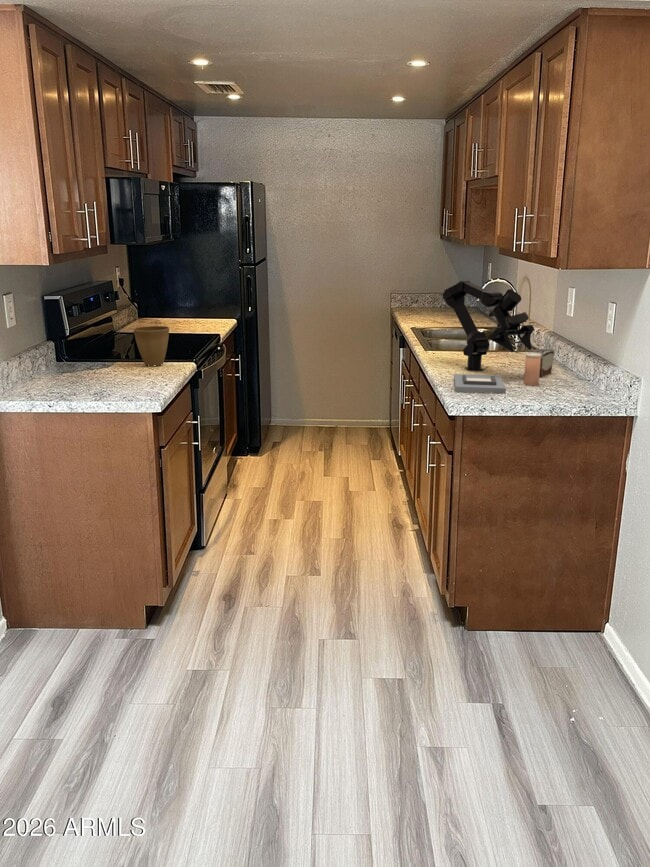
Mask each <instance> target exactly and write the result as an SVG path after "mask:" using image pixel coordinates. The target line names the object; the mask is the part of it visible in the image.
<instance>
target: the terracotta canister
mask: <svg viewBox="0 0 650 867" xmlns="http://www.w3.org/2000/svg"><path fill="white" fill-rule="evenodd" d="M524 361H525V362H524V371H523V372H524V374H523V385H524V384H525V385H524V386H527V385H532V386H531V387H536V386H535V385H538V386H539V381H540V377H539V373H540V362H541V353H535V352H534V351H533V352H529V351H528V352H526V353H525V360H524Z"/></svg>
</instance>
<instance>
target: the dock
mask: <svg viewBox="0 0 650 867" xmlns="http://www.w3.org/2000/svg"><path fill="white" fill-rule="evenodd" d="M453 383H454V391H455V393H470V392H488V393H487V394H499V393H505V394H506V390H507V388H506V386H505V383H504V381H503V379H502V376H501V374H482V373H481V374H479V373H478V374H477V373H475V374H474V373H453ZM491 392H492V393H491Z"/></svg>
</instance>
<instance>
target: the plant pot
mask: <svg viewBox="0 0 650 867" xmlns="http://www.w3.org/2000/svg"><path fill="white" fill-rule="evenodd" d="M133 333H134V338H135V342H136V345H137V346H136V347H137V349H138V351H139V354H140V356H141V359H142V362H143V363H144V366H145V365H149V366H154V365H161V364H163V365H164V361H165V359H166V354H167V350H168V343H169V336H170V327H169V326H165V325H164V326H163V325H148V326H138V327H134V328H133ZM149 366H148V367H149ZM161 366H162V365H161Z"/></svg>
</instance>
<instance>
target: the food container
mask: <svg viewBox="0 0 650 867" xmlns="http://www.w3.org/2000/svg"><path fill="white" fill-rule="evenodd" d="M533 352H535V353H541V362H540V373H539V378H543V377H547V376H549V375H552V371H553V363H554V358H555V357H554V356H555V349H553V348H539V349H534V351H533ZM546 375H547V376H546Z"/></svg>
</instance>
